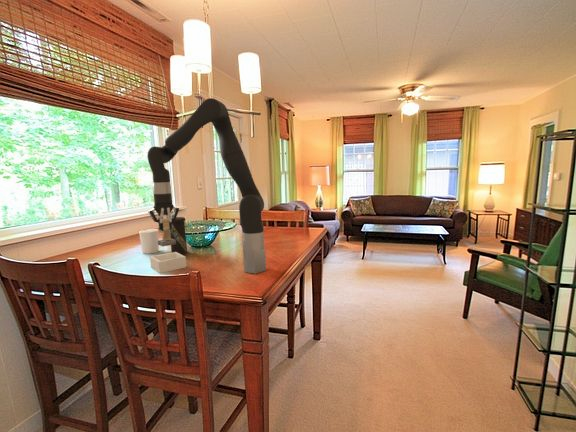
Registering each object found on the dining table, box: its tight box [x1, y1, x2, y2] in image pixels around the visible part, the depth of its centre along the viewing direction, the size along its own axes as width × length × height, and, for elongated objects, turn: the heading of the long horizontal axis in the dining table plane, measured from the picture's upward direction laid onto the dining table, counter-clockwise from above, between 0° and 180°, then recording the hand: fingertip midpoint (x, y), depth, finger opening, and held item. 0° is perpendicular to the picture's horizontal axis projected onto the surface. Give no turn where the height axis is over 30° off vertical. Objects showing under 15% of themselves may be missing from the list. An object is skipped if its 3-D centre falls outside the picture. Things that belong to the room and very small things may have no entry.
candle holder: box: [138, 228, 160, 254], centre depth 167 cm, size 10×10×12 cm
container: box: [170, 216, 188, 256], centre depth 161 cm, size 9×9×20 cm
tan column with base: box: [158, 217, 176, 247], centre depth 137 cm, size 6×6×12 cm
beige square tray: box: [149, 252, 187, 274], centre depth 139 cm, size 12×12×5 cm
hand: (165, 230), depth 137 cm, fingers closed on tan column with base, 2 cm apart
